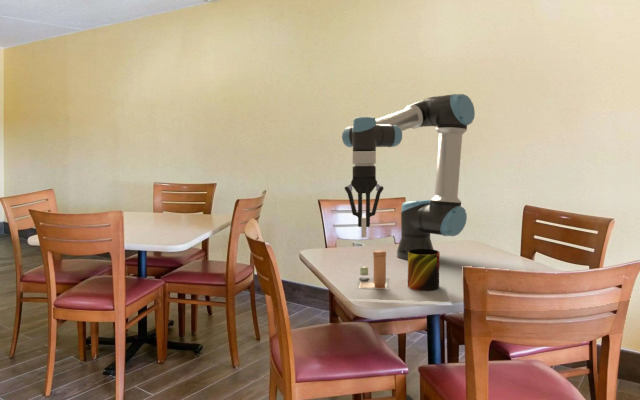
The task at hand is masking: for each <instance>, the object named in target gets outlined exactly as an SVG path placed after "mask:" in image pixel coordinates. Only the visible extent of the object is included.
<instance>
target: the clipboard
mask: <svg viewBox="0 0 640 400" xmlns="http://www.w3.org/2000/svg"><path fill="white" fill-rule="evenodd" d="M356 289H357V290H379V291H381V290H384V291H389V290H390V278H389V277H386V284H385V287H382V288H379V287H375V284H374V277H359V278H358V283H357V285H356Z"/></svg>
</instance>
